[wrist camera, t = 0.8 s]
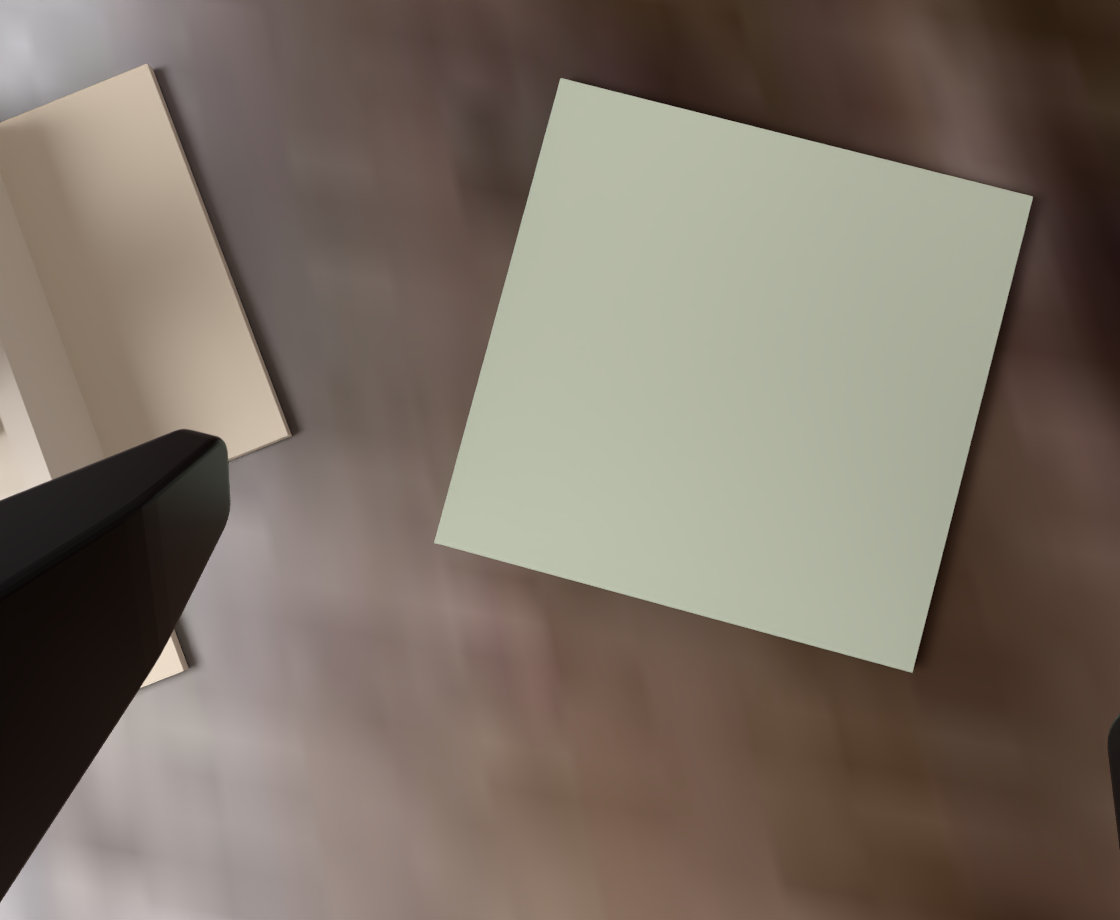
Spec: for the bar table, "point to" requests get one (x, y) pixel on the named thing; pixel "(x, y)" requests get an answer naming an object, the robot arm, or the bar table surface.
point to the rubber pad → (735, 373)
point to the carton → (115, 296)
